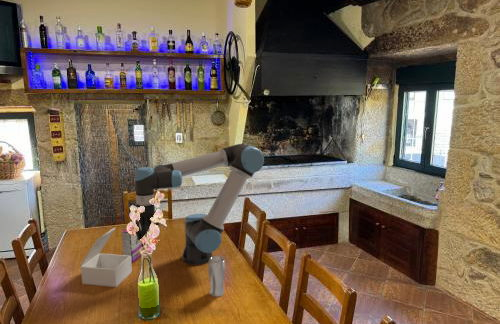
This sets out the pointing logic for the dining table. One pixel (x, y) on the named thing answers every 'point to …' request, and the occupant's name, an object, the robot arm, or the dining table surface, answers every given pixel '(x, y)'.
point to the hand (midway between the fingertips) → (147, 255)
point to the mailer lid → (97, 246)
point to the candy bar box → (131, 246)
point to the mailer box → (106, 270)
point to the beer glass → (216, 275)
